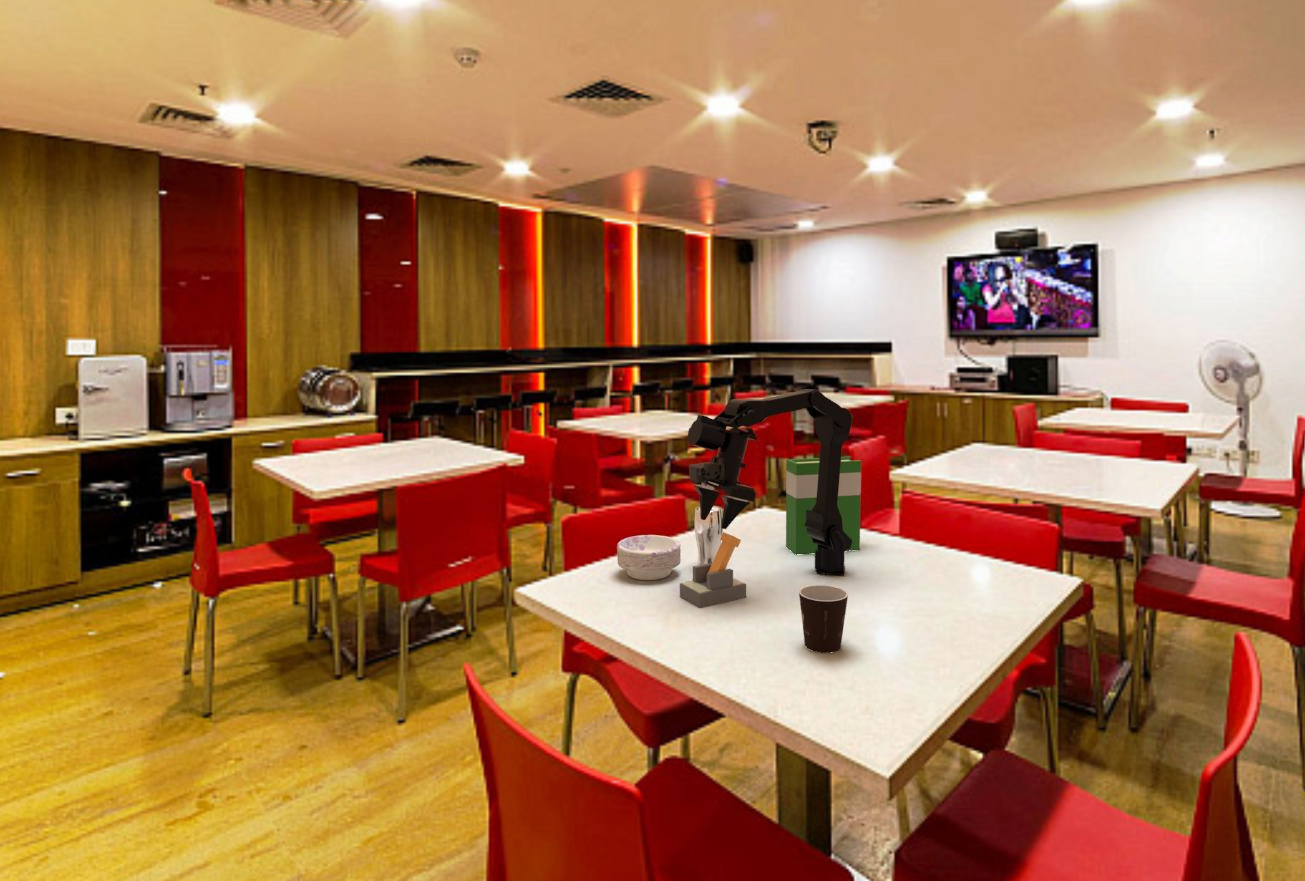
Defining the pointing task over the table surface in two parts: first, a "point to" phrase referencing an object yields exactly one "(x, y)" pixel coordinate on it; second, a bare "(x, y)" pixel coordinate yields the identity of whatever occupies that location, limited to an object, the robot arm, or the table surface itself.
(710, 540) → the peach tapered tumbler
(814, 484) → the hardback book
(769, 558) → the table surface
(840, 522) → the robot arm
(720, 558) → the breaker lever
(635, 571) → the paper bowls
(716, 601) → the breaker block
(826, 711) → the table surface
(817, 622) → the coffee mug
